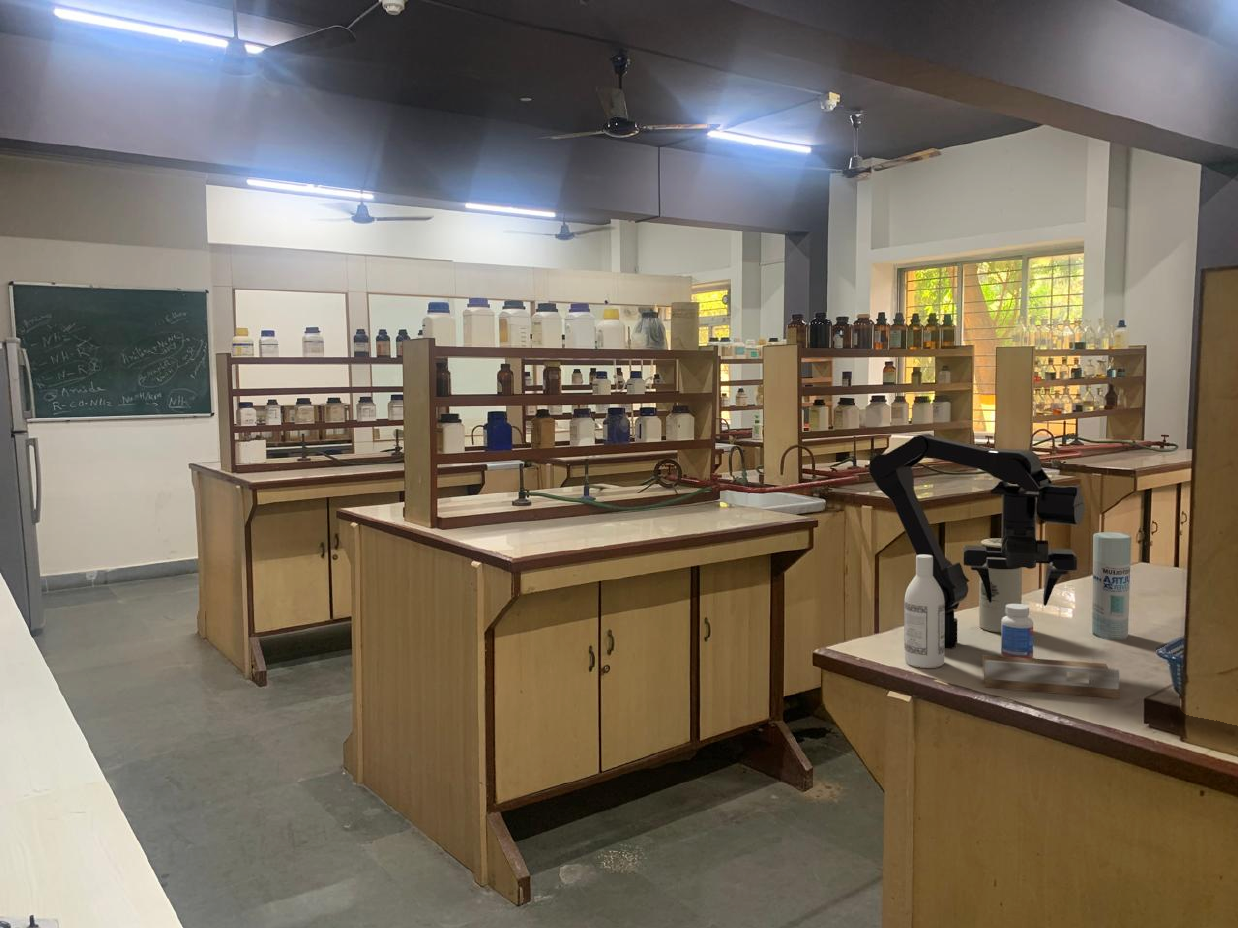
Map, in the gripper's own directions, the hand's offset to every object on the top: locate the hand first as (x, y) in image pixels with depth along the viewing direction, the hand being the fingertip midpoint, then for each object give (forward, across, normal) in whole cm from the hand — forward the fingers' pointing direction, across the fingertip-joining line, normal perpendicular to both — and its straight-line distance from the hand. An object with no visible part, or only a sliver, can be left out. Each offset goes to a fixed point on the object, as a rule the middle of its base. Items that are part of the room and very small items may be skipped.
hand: (1017, 603), depth 166 cm
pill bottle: (+10, 0, 0) cm, 11 cm away
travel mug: (+10, -2, +19) cm, 22 cm away
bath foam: (+10, -16, -7) cm, 20 cm away
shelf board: (+10, +4, -11) cm, 16 cm away
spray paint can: (+10, +18, +19) cm, 28 cm away
